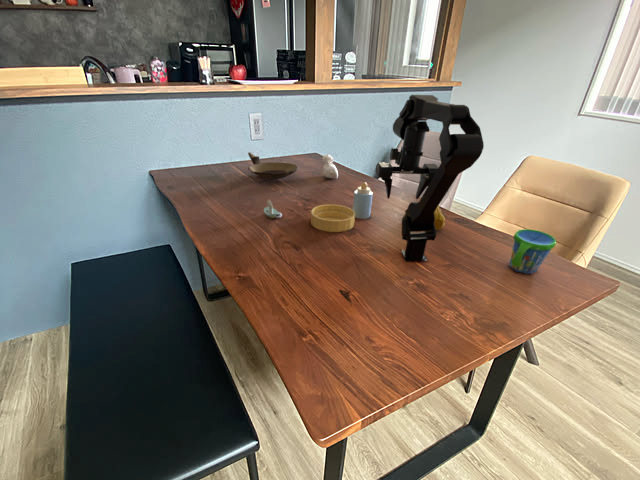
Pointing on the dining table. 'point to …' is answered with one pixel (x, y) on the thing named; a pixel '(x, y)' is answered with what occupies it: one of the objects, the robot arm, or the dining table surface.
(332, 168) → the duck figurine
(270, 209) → the pacifier
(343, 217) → the bowl
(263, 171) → the oil lamp
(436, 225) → the food
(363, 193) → the baby bottle
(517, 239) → the snack cup
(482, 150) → the robot arm
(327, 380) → the dining table surface
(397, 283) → the dining table surface
